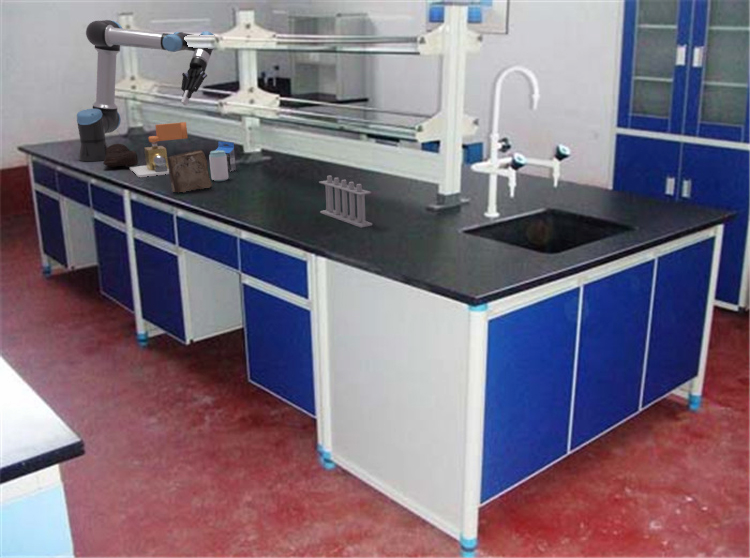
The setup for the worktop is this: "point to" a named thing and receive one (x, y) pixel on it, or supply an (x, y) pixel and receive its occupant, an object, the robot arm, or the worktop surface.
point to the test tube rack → (345, 201)
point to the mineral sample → (188, 171)
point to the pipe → (120, 156)
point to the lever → (170, 132)
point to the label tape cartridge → (228, 154)
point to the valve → (156, 158)
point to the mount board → (146, 171)
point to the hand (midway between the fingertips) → (184, 103)
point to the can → (218, 165)
